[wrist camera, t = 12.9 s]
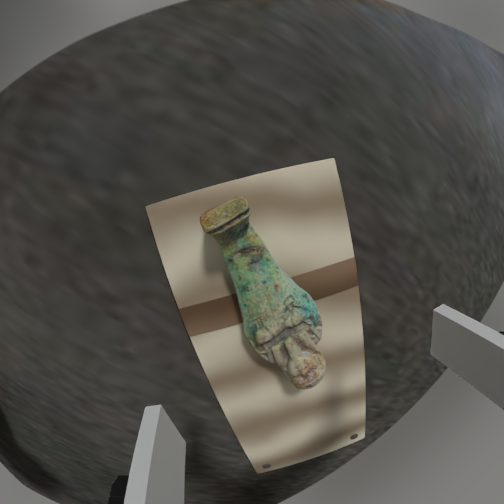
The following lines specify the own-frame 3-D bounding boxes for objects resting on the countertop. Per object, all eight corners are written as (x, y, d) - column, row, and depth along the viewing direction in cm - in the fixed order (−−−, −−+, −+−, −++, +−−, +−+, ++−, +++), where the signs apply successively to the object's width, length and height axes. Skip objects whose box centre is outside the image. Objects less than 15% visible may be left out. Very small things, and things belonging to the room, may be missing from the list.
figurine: (274, 183, 19) (288, 180, 15) (325, 357, 22) (342, 383, 18) (198, 209, 18) (194, 213, 15) (267, 380, 22) (275, 409, 18)
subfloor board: (362, 433, 27) (365, 438, 26) (256, 469, 26) (257, 474, 25) (329, 159, 20) (334, 157, 19) (148, 206, 19) (145, 206, 18)
